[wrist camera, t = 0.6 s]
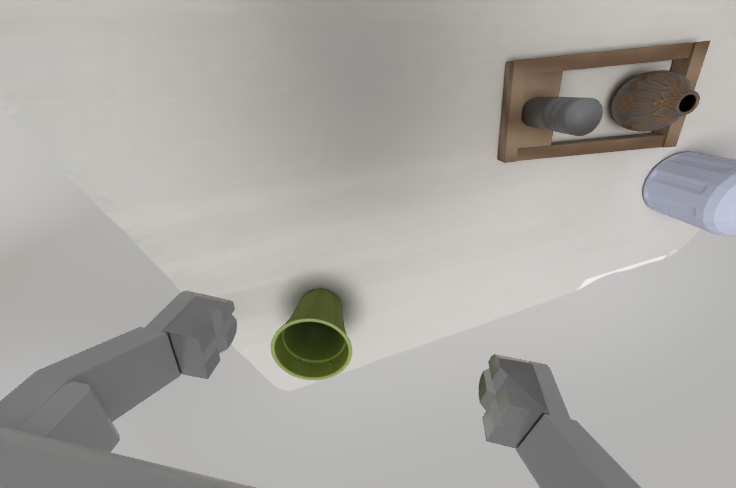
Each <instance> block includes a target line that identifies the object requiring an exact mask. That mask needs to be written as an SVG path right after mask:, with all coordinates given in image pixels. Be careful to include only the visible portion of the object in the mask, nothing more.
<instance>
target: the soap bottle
mask: <svg viewBox="0 0 736 488" xmlns="http://www.w3.org/2000/svg"><path fill="white" fill-rule="evenodd" d="M643 196H644V200H645V201H646V203H647V205H648V206H649V207H651V208H652V209H654V210H656V211H658V212H661V213H663V214H666V215H668V216H671V217H673V218H676V219H678V220H681V221H683V222H686V223H688V224H691V225H693V226H696V227H698V228H701V229H703V230H706V231H708V232H711V233H713V234H718V235H728V236H736V160H734V159H728V158H722V157H717V156H711V155H706V154H700V153H694V152H684V153H679V154H675V155H673V156H671V157H669V158H667V159H665V160H663V161H662V162H661V163H660V164H659V165H658V166H656V167H655V168H654V169H653V170H652V172H651V173H650V175H649V176H648V178H647V179H646V182H645V185H644V188H643Z"/></svg>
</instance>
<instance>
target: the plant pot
mask: <svg viewBox="0 0 736 488" xmlns="http://www.w3.org/2000/svg"><path fill="white" fill-rule="evenodd" d="M271 353H272V356H273V358H274V360H275V362H276V363H277V365H278V366H280V368H282V369H283V370H284V371H285V372H287V373H288V374H290V375H292V376H295V377H298V378H301V379H306V380H322V379H327V378H330V377H333V376H335V375H337V374H339V373H340V372H341V371H343V370H344V369H345V368H346V367H347V365H348V364H349V362H350V360H351V357H352V346H351V343H350V340H349V338H348V337H347V335H346V332H345V329H344V322H343V315H342V308H341V303H340V300H339V299H338V298H337V297H336V296H335V295H334V294H333V293H332V292H330V291H327V290H323V289H317V290H312V291H310V292H309V293H307V294H306V295H305V296H304V297H303V298H302V300H301V301H300V303H299V304H298V306H297V308H296V309H295V311H294V313H293V314H292V316H291V318H290V319H289V320H288V321H287V322H286V324H285V325H283V326H282V327H281V328H280V329H279V330H278V331H277V332H276V333H275V335H274V337H273V339H272V342H271Z"/></svg>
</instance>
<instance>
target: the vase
mask: <svg viewBox="0 0 736 488" xmlns="http://www.w3.org/2000/svg"><path fill="white" fill-rule="evenodd" d="M699 100H700V97H699V94H698V93H697V92H696V91H694V89H693V86H692V84H691V82H690V81H689V80H688V79H687V78H686V77H685V76H683V75H681V74H679V73H676V72H673V71H665V70H663V71H652V72H647V73H644V74H641V75H639V76H636V77H634V78H632V79H631V80H629V81H628V82H626V83H625V84H624V85H623V86H622V87H621V88H620V89H619V90H618V92H617V93H616V95H615V96H614V98H613V101H612V105H611V112H612V116H613V118H614V120H615V121H616V122H617V123H618V124H619V125H621V126H622V127H624V128H626V129H629V130H634V131H652V130H657V129H661V128H664V127H666V126H668V125H670V124H672V123H674V122H676V121H677V120H678V119H680V118H681V117H682V116H684V115H687V114H689V113H691V112H692V111H693V110H694V109H695V108H696V107H697V105H698V103H699Z"/></svg>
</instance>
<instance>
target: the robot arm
mask: <svg viewBox="0 0 736 488" xmlns="http://www.w3.org/2000/svg"><path fill="white" fill-rule="evenodd" d="M234 310H235V308H234V303H233V301H230V300H226V299H222V298H218V297H213V296H209V295H205V294H199V293H195V292H191V291H183V292H181V293H179V295H177V296H176V297H175V298H174V299H173V300H172V301H171V302H170V303H169V304H168V305H167V306H166V307H165V308H164V309H163V310H162V311H161V312H160V313H159V314H158V315H157V316H156V317H155V318H154V319H153V320H152V321H151V322H150V323H149V324H148V325H147V326H146V327H145V328H142V327H139V328H136V329H134V330H132V331H129V332H127V333H125V334H122V335H120V336H118V337H115V338H113V339H111V340H108V341H106V342H103V343H101V344H99V345H96V346H94V347H92V348H89V349H87V350H85V351H82V352H80V353H78V354H75V355H73V356H71V357H68V358H66V359H64V360H61V361H59V362H57V363H54V364H52V365H49V366H47V367H45V368H42V369H40V370H38V371H36V372H35V373H34V374H33V375H31V376H30V377H29V378H28V379H26V380H25V381H24V382H23V383H22V384H20V385H19V386H18V387H17V388H15V389H14V390H13V391H12V392H11V393H9V394H8V395H7V396H6V397H5V398H4V399H2V400H1V401H0V488H255V487H251V486H247V485H242V484H238V483H235V482H230V481H226V480H222V479H218V478H214V477H210V476H206V475H201V474H197V473H193V472H189V471H185V470H181V469H177V468H173V467H168V466H164V465H160V464H156V463H152V462H148V461H144V460H140V459H135V458H131V457H127V456H123V455H119V454H115V453H111V451H112V449H113V448H114V447H115V446H116V444H117V443H118V441H119V440H120V439H119V438H120V437H119V433H118V432H117V430H116V428H115V427H114V425H113V424H112V421H114V420H116V419H117V418H118V417H120V416H121V415H123V414H124V413H126V412H127V411H129V410H130V409H132V408H133V407H135V406H136V405H138V404H139V403H140V402H142V401H143V400H145V399H147V398H148V397H150V396H151V395H152V394H154V393H155V392H157V391H158V390H160V389H161V388H163V387H164V386H166V385H167V384H169V383H170V382H172V381H173V380H175V379H176V378H178V377H179V376H180V374H184V375H189V376H195V377H200V378H205V379H208V378H209V377H210V375H211V374H212V372H213V370H214V369H215V367H216V366H217V365H218V363H219V361H220V356H219V353H220V352H223V351H225V350H226V349H228V347H229V346H230V345H231V343H232V341H233V339H234V336H235V334H236V328H237V322H236V319H235V318H234V316H233V315H232V312H233V311H234ZM489 367H490V368H489V369H487V370H485V371H483V373H482V375H481V378H480V382H479V399H480V403H481V405H482V406H483V407H484V409H485V410H486V412H485V414H484V416H483V424H484V430H485V436H486V441H489V442H492V443H497V444H501V445H504V446H509V447H512V448H516V451H517V452H518V454H519V455H520V457H521V459H522V460H523V462H524V463H525V465H526V466H527V468H528V469H529V471H530V473H531V474H532V476H533V477H534V479H535V480H536V482H537V484H538V485H539V487H540V488H641V487H640V486H639V485H638V484H637V483H636V482H635V481H634V480H633V479H632V478H631V477H630V476H629V475H628V474H627V473H626V472H625V471H624V470H623V469H622V468H621V466H620V465H619V464H618V463H617V462H616V461H615V460H614V459H613V458H612V457H611V456H610V455H609V454H608V453H607V452H606V451H605V450H604V449H603V448H602V447H601V446H600V445H599V444H598V443H597V442H596V441H595V440H594V439H593V438H592V436H590V434H589V433H588V432H586V430H585V429H584V428H583V427H582V426H581V425H580V424H579V423H578V422H577V421H575V420H571V419H570V417H569V414H568V412H567V409H566V407H565V404H564V402H563V399H562V397H561V394H560V392H559V389H558V387H557V384H556V382H555V380H554V377H553V375H552V372H551V370H550V368H549V367H548V366H547V365H546V364H541V363H536V362H531V361H527V360H522V359H516V358H511V357H506V356H501V355H496V354H494V355H493V356H491V358H490V360H489Z"/></svg>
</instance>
